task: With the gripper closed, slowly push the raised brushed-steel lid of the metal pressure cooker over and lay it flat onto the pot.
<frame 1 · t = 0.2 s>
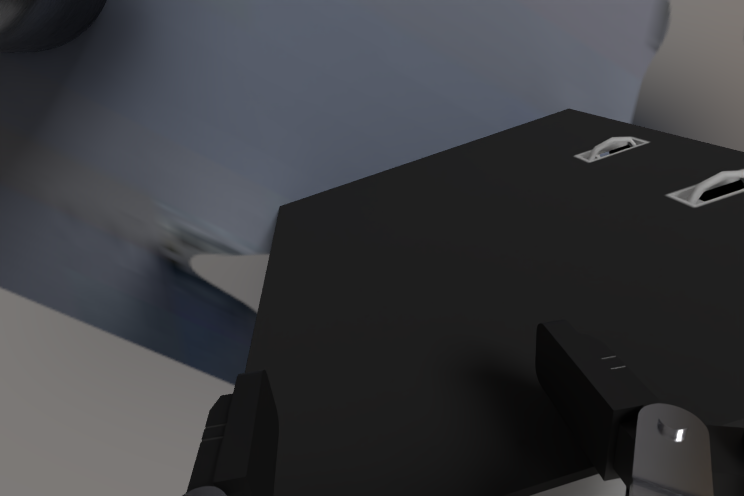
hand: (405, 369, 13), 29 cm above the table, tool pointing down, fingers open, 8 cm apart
binder: (437, 220, 44), on the table
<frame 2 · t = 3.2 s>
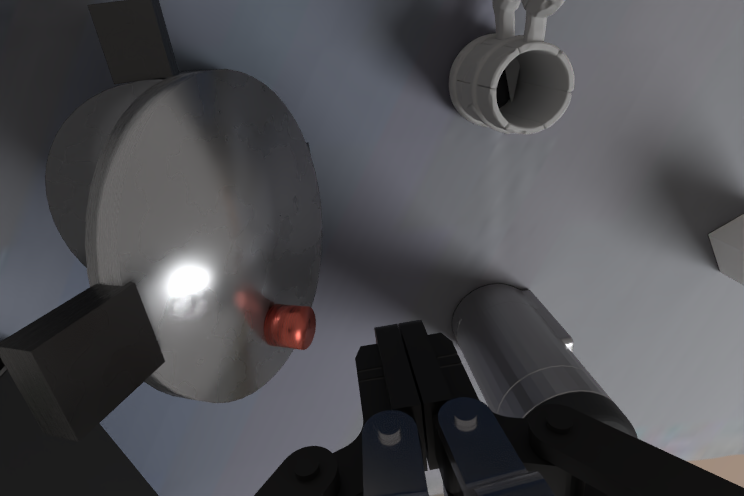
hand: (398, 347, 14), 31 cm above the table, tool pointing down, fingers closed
milk: (736, 239, 52), on the table
lid: (237, 252, 22), point 22 cm above the table, hinge at 65.0°
mug: (487, 55, 41), on the table
binder: (56, 447, 53), on the table
pot: (212, 163, 42), on the table
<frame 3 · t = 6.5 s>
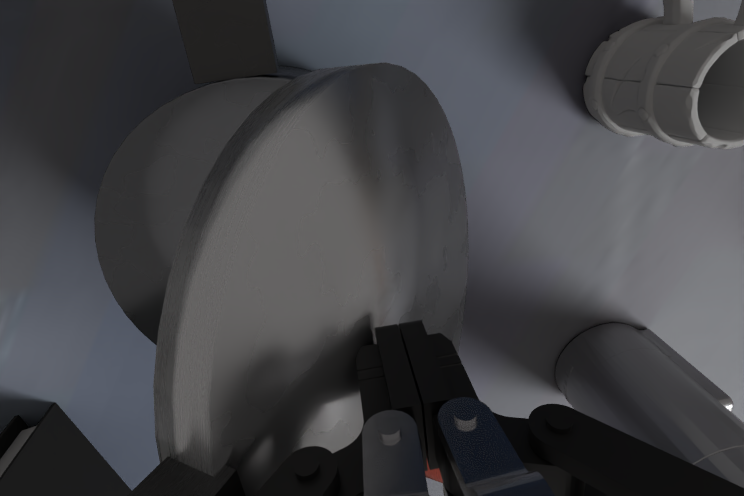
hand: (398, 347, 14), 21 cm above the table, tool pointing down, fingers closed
lid: (380, 353, 14), point 21 cm above the table, hinge at 55.6°, touching gripper
mug: (632, 47, 32), on the table
pot: (285, 184, 33), on the table
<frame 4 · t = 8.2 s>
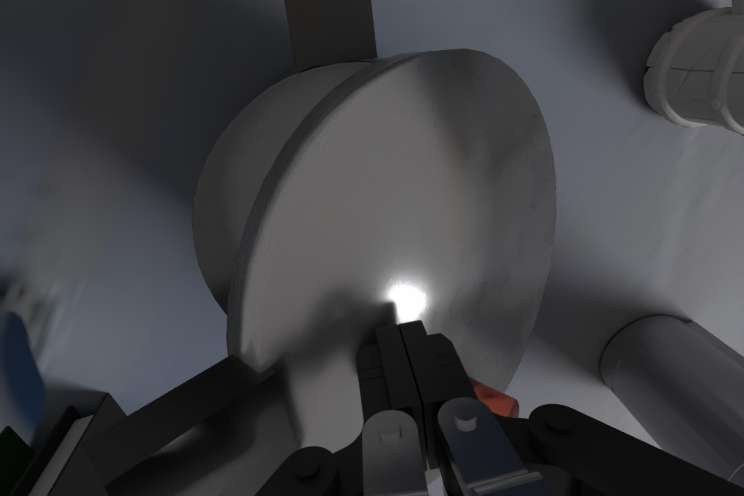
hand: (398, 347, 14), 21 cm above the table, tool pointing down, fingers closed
lid: (430, 316, 16), point 20 cm above the table, hinge at 38.6°, touching gripper
mug: (694, 38, 33), on the table
pot: (345, 174, 33), on the table
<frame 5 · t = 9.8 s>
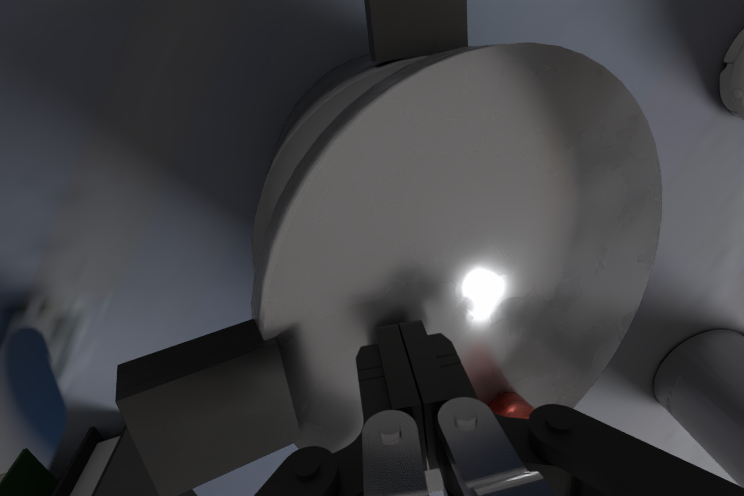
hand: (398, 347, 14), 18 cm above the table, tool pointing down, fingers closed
lid: (462, 320, 15), point 17 cm above the table, hinge at 18.9°, touching gripper
pot: (395, 180, 31), on the table
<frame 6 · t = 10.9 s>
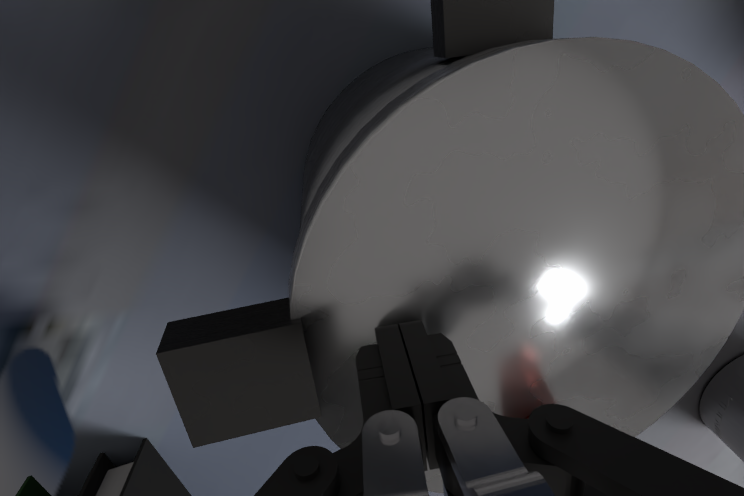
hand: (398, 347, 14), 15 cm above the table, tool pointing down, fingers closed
lid: (497, 327, 15), point 15 cm above the table, hinge at 4.7°, touching gripper
pot: (434, 188, 28), on the table
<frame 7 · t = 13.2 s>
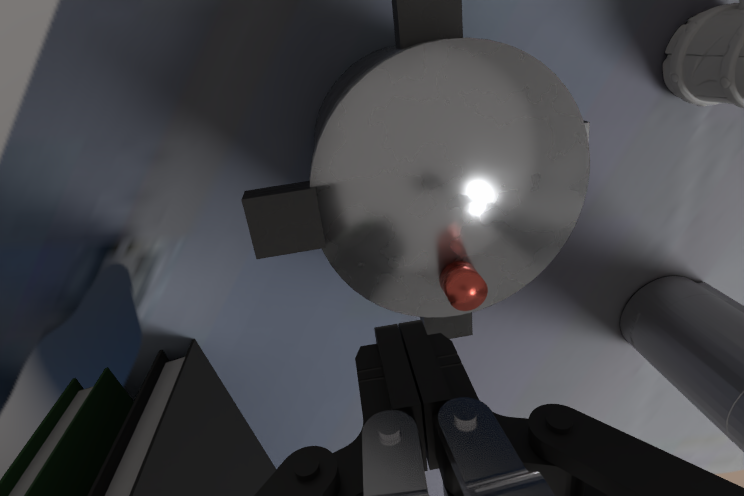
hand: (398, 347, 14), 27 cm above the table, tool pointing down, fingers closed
lid: (425, 201, 26), point 14 cm above the table, hinge at 1.2°
mug: (706, 29, 38), on the table
binder: (199, 450, 50), on the table
pot: (408, 146, 39), on the table
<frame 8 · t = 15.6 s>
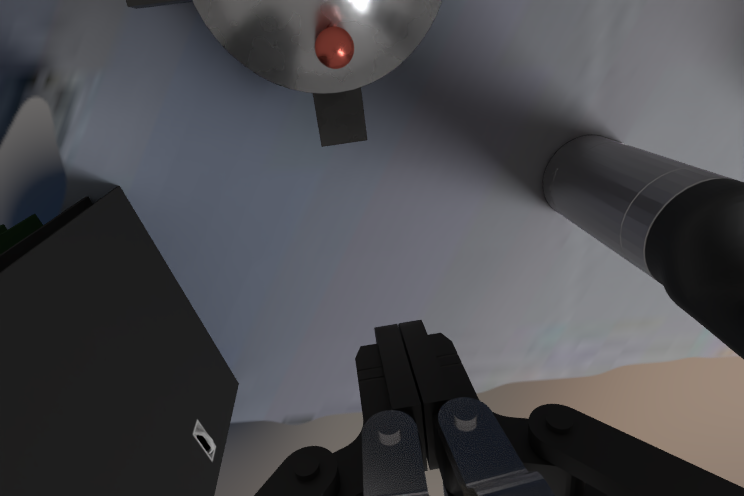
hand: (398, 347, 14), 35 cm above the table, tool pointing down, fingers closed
binder: (133, 312, 52), on the table
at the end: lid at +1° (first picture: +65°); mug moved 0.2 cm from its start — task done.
